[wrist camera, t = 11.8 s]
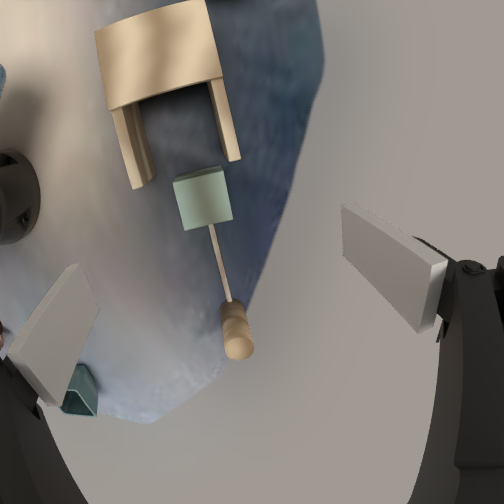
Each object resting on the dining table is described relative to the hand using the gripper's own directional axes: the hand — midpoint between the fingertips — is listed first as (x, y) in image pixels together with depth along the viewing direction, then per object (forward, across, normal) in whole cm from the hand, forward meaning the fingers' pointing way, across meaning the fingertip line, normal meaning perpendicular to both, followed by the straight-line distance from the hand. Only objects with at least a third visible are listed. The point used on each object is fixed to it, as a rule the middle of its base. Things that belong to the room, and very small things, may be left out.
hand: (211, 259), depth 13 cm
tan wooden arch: (+27, -2, +11) cm, 29 cm away
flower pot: (+27, -36, -32) cm, 55 cm away
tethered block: (+27, -1, -12) cm, 29 cm away
